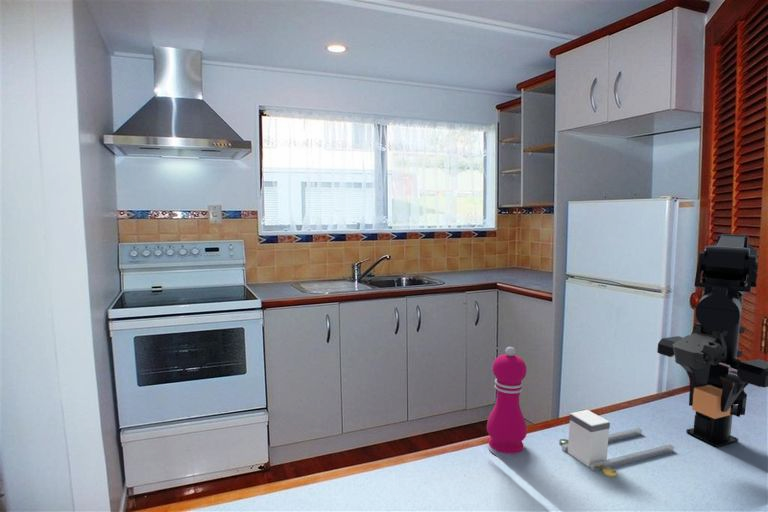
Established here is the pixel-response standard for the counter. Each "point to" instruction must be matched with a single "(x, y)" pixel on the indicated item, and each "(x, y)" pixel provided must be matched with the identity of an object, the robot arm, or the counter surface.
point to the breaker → (588, 437)
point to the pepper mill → (507, 404)
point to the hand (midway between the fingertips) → (711, 406)
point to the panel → (626, 458)
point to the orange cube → (708, 401)
